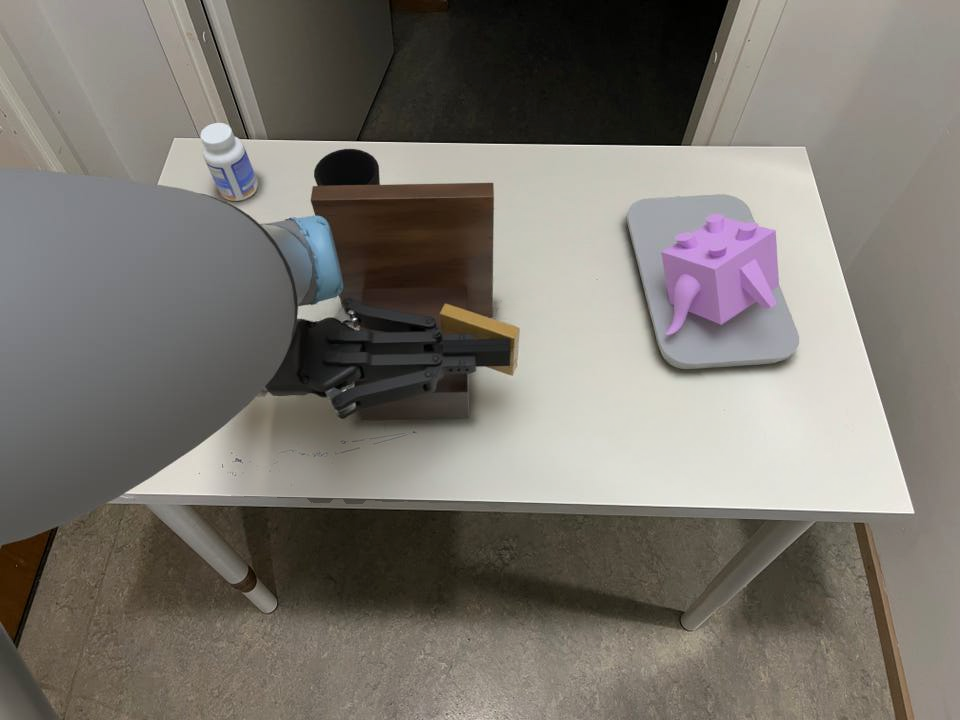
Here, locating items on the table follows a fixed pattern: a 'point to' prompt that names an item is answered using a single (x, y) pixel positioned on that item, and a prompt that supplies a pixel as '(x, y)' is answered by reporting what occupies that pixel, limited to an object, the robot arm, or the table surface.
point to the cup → (347, 169)
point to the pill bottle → (228, 162)
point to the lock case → (414, 265)
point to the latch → (481, 331)
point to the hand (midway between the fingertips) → (509, 352)
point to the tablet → (698, 339)
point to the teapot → (720, 270)
